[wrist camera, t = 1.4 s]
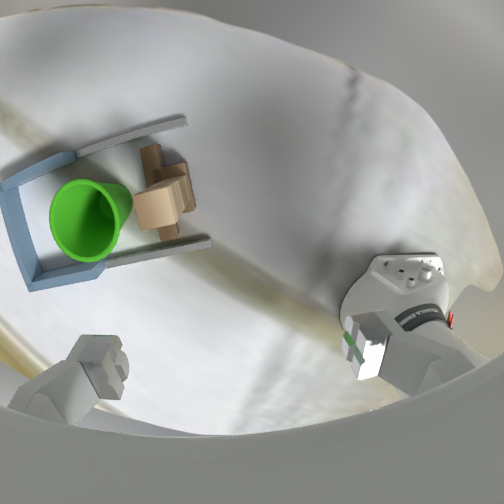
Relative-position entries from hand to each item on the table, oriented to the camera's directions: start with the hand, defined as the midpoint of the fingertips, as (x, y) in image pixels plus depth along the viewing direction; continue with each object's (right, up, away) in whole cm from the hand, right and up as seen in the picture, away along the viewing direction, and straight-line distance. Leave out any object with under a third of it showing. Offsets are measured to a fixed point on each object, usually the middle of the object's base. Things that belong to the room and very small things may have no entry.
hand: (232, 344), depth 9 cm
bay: (-30, +8, +26) cm, 40 cm away
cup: (-18, +10, +26) cm, 33 cm away
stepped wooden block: (-10, +11, +26) cm, 30 cm away
